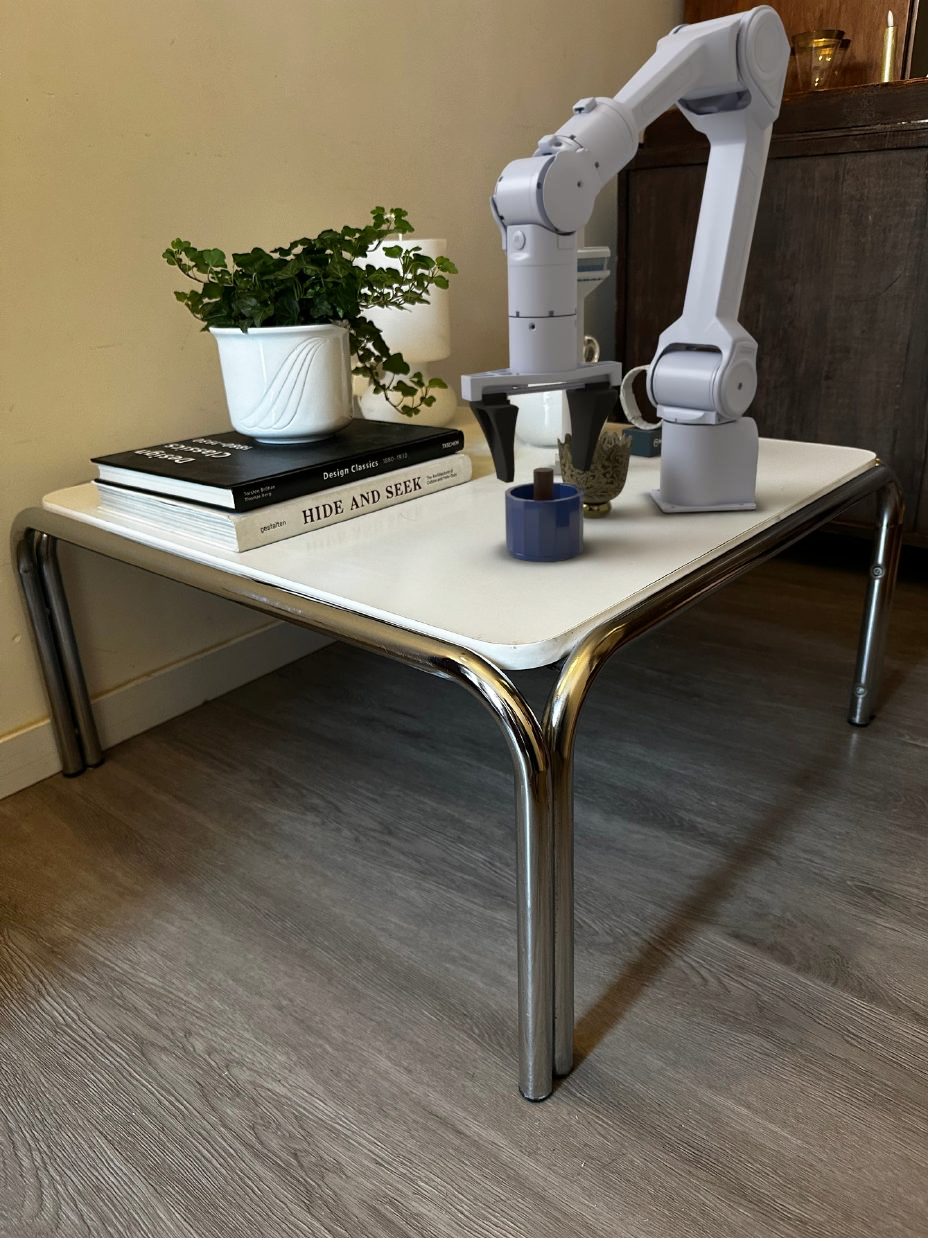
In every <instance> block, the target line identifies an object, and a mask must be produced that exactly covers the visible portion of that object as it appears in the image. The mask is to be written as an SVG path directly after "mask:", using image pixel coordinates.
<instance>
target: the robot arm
mask: <svg viewBox="0 0 928 1238" xmlns="http://www.w3.org/2000/svg"><path fill="white" fill-rule="evenodd" d="M791 50H792V49H791V46H790V43H789V39H788V36H787V34H786V30H785V27H784V24H783V21H782V20H781V17H780V15H779V14H778V12H777V11H776V10H775V8H773V7H772V6H770V5H766V4H763V5H762V4H761V5H759V6H756V7H753V8H752V9H750V10H746V11H742V12H738V13H735V14H730V15H726V16H723V17H718V18H714V19H709V20H705V21H701V22H697V23H693V24H689V23H684V24H680V25H677V26H675V27H674V28H673V29H671V30H670V31H669V33H668V34H667V35H665V36H663V37H662V38H660V39H659V40H658V41H657V43H656V49H655V52H654V53H653V55H652V56H650V58H649V59H648V60H647V61H646V62H645V63H644V64H643V65H642V66H641V68H640V69H639V70H638V71H637V72H635V74H634V75H633V76H632V77H631V78H630V79H629V80H628V81H627V83H626V84H625V85H624V86H623V87H622V88H621V89H620V90H619V91H618V93H616V94H615V96H614V97H612V98H611V97H606V96H598V97H594V96H592V97H587V98H582V99H581V98H580V99H579V100H578V102H576V103H575V104H574V105H573V106H572V113H573V114H574V115H573V116H571V118H569V119H568V120H567V121H566V122H565V123H564V124H563V125H562V126H561V127H560V128H559V129H558V130H557V131H556V132H554V133H553V134H552V133H551V134H546V135H544V136H543V137H542V138H540V140H538V142H537V145H538V148H537V149H536V150H535V151H534V152H533V154H532V156H531V157H525V158H518V159H514V160H512V161H511V162H509V163H507V165H506V166H505V167H504V169H503V170H502V172H501V174H500V175H499V176H498V179H497V181H496V184H495V187H494V194H493V195H491V196H490V197H489V205H490V210H491V215H492V217H493V219H494V222H495V224H496V225H497V226H498V229H499V230H500V233H501V241H502V242H501V243H502V245H501V246H502V251H504V255H505V256H506V257H507V299H508V300H507V301H508V302H507V303H508V344H509V345H508V346H509V347H508V348H509V351H508V352H509V368H508V367H507V368H502V369H497V370H496V369H495V370H490V371H485V372H478V373H472V374H471V373H470V374H462V375H460V384H461V399H462V400H466V401H468V405H469V409H470V410H471V412H472V414H473V415H474V418H475V419H476V421H477V422H478V424H479V427H480V428H481V431H482V432H483V435H484V438H485V440H486V443H487V445H488V449H489V451H490V454H491V458H492V462H493V465H494V470H495V475H496V479H497V480H499V481H501V482H503V483H506V484H509V483H510V484H511V483H514V482H515V474H516V473H515V472H516V471H515V469H516V468H515V467H516V466H515V465H516V464H515V462H516V461H515V437H516V436H515V435H516V429H517V420H518V416H519V411H520V407H519V406H518V405H515V404H513V403H511V399H508V397H510V396H520V395H531V394H539V393H547V392H556V391H562V390H566V396H567V400H568V406H569V412H570V420H571V433H572V435H571V457H572V466H573V468H575V469H578V470H580V471H583V472H586V471H590V468H591V464H592V460H593V456H594V452H595V448H596V445H597V442H598V440H600V437H601V433H602V431H603V428H604V426H605V423H606V422H607V419H608V417H609V415H610V413H611V412H612V410H613V408H614V407H615V405H616V404H617V402H618V390H617V389H615V388H611V387H617V386H621V385H622V374H623V373H622V369H623V367H622V366H623V363H622V362H619V361H612V360H605V361H589V362H587V361H586V362H583V363H577V314H576V313H577V229H579V228H580V227H581V226H584V225H585V226H586V225H587V224H588V222H589V220H590V218H591V216H592V213H593V210H594V207H595V200H596V198H597V197H598V194H599V193H601V190H602V189H603V188H604V187H605V186H606V185H607V184H608V183H609V182H610V181H611V180H612V179H613V178H615V176H616V175H617V174H618V173H619V172H621V171H622V170H623V168H625V167H626V166H627V164H629V162H630V161H631V160H633V159H634V157H635V155H636V153H637V151H638V148H639V141H640V140H639V139H640V136H639V134H640V133H642V132H643V130H644V129H646V128H647V127H648V126H649V125H651V124H653V122H654V121H656V119H658V118H659V117H660V116H661V115H662V114H664V113H665V112H666V111H667V110H668V109H669V108H671V107H672V106H673V105H675V106H676V107H677V108H678V109H679V111H680V112H681V113H682V114H683V116H684V117H685V118H686V119H687V120H688V122H689V123H690V124H691V125H692V127H693V128H694V130H696V131H697V132H700V133H703V134H704V135H706V138H707V139H708V141H709V143H710V152H709V157H708V163H707V169H706V174H705V181H704V186H703V192H702V199H701V204H700V211H699V216H698V220H697V221H698V222H697V228H696V233H695V239H694V244H693V251H692V259H691V263H690V269H689V275H688V281H687V286H686V293H685V299H684V306H683V310H682V315H681V316H680V317H679V318H678V319H677V320H676V321H674V322H673V323H672V324H671V325H670V326H668V327H667V328H666V329H665V330H664V331H663V332H662V333H661V334H660V335H659V338H658V344H657V349H656V351H655V354H654V357H653V358H652V361H651V362H650V364H649V365H650V367H649V370H648V374H647V373H646V382H645V383H646V384H645V385H646V393H647V397H648V399H649V401H650V403H651V405H652V406H653V407H655V408H656V417H657V418H663V421H662V446H661V454H660V473H659V474H660V475H659V488H658V489H657V488H655V489H653V488H652V489H650V490H649V495H650V496H651V498H652V499H653V500H654V502H655V503H656V504H657V505H658V507H659V508H660V510H661V511H662V512H663V513H689V512H690V513H691V512H693V513H694V512H717V511H718V512H719V511H742V510H755V509H757V503H755V497H756V488H757V487H756V485H757V473H758V464H759V463H758V462H759V448H760V446H759V444H760V443H759V441H760V440H759V430H758V426H757V424H756V420H755V419H754V418H753V417H750V416H743V414H744V413H745V412H746V411H747V409H748V408H749V407H750V405H751V403H752V402H753V400H754V398H755V396H756V395H755V394H756V391H757V386H758V374H757V365H756V364H757V354H758V353H757V352H758V347H759V344H758V343H757V341H756V339H755V338H753V336H752V335H751V334H750V333H749V332H748V331H747V330H746V329H745V328H744V327H743V325H742V324H741V323H740V322H739V321H738V317H739V314H740V313H739V312H740V307H741V300H742V296H743V291H744V285H745V279H746V274H747V270H748V269H747V268H748V263H749V257H750V253H751V247H752V241H753V236H754V232H755V231H754V230H755V226H756V220H757V215H758V209H759V205H760V199H761V192H762V187H763V182H764V176H765V171H766V166H767V161H768V154H769V149H770V143H771V138H772V131H773V124H774V122H775V121H776V120H777V119H778V118H779V115H780V109H781V105H782V98H783V93H784V88H785V83H786V77H787V72H788V67H789V62H790V56H791ZM700 348H706V349H719V350H720V351H721V352H718V351H717V352H716V351H704V350H703V351H702V350H697V349H700ZM562 382H568V383H562ZM529 385H530V386H529Z"/></svg>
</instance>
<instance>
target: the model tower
mask: <svg viewBox="0 0 928 1238" xmlns="http://www.w3.org/2000/svg"><path fill="white" fill-rule="evenodd" d="M585 226H586V225H584V226H581V227H580V228H579V229H577V313H576V314H577V363H584V342H585V341H584V336H585V333H584V332H585V326H584V325H585V298H586V297H587V296H588V295H590V293H592V291H594V290H595V289H596V288H597V287H598V286H600V284H601V283H603V281H604V280H606V279H607V277H609V276H610V275H611V270H610V269H608V265H609V261H610V257H611V250H610V247H609V246H585V235H586V234H585V229H586V228H585ZM561 383H568V382H561ZM566 433H569V434H570V435H572V433H571V420H570V412H569V406H568V400H567V396H566V390H561V442H563V443H564V442H565V434H566ZM554 475H561V468H560V459H559V452H557V453H554Z"/></svg>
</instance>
